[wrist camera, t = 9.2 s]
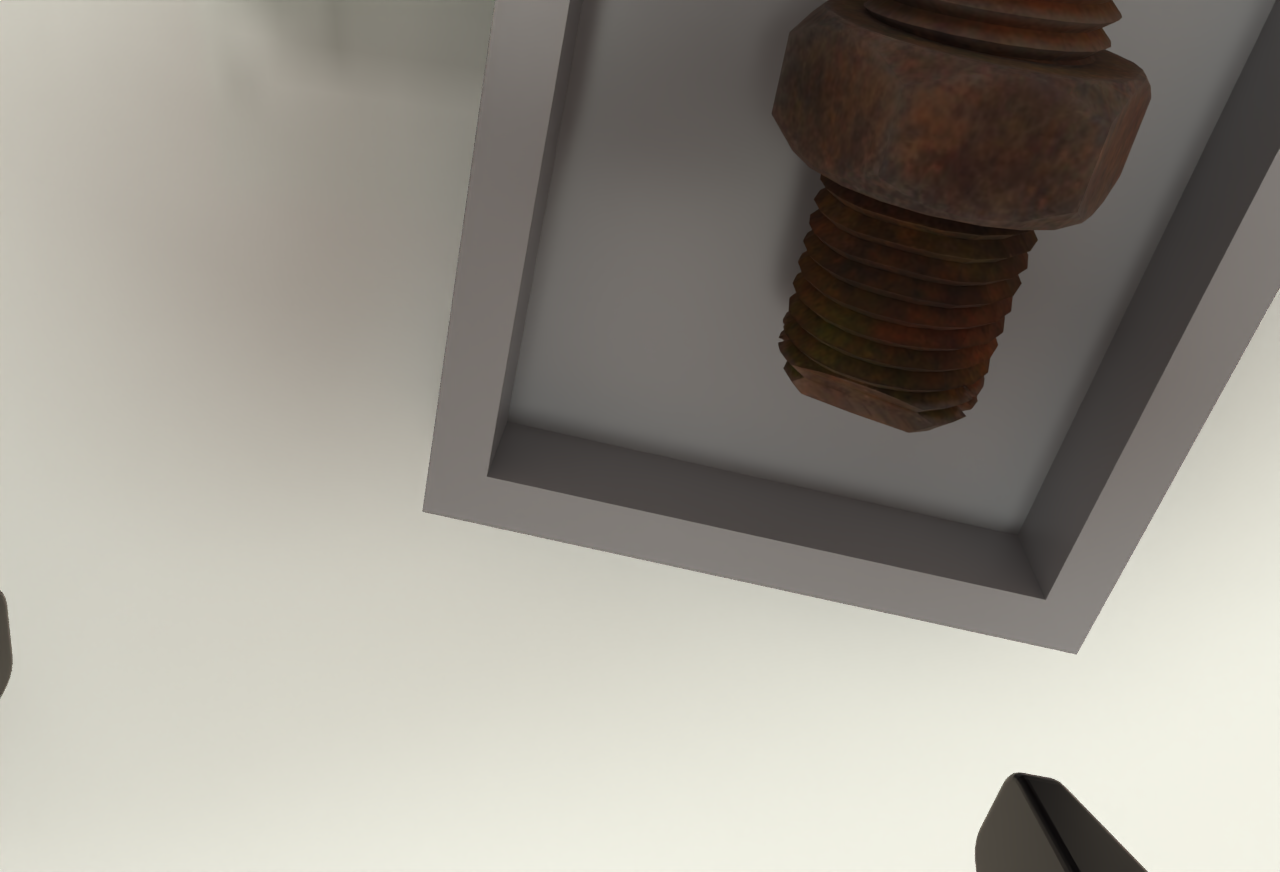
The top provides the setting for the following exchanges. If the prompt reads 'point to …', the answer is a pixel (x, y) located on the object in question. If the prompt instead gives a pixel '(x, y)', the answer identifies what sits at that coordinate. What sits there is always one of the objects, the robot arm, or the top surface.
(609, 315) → the parts tray
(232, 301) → the top surface
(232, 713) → the top surface
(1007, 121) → the bolt
